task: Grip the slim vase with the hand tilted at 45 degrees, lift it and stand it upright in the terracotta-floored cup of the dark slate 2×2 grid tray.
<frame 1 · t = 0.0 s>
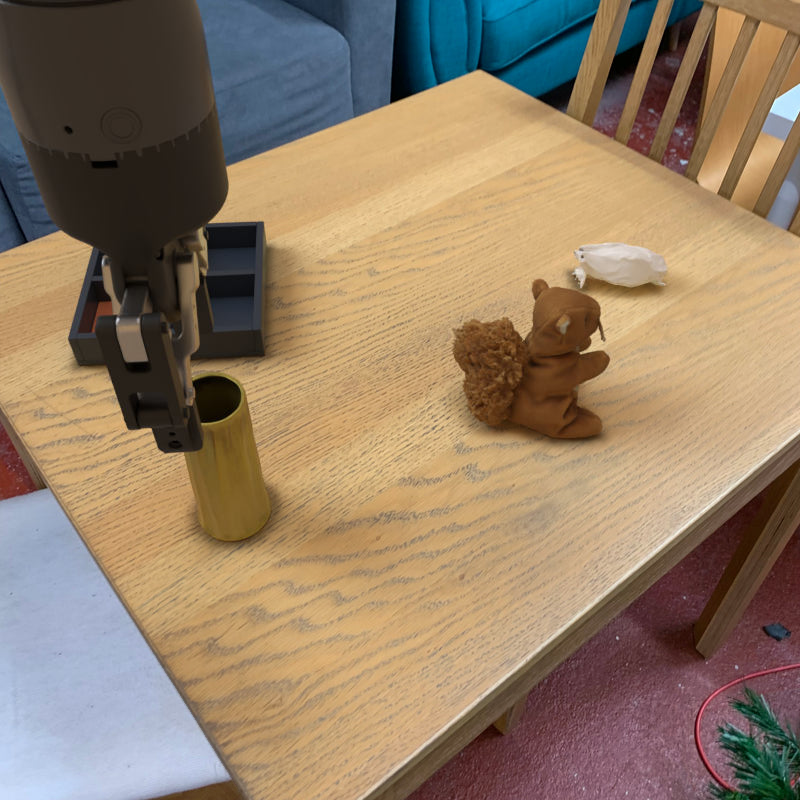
hand: (189, 385, 41), 24 cm above the table, tool pointing down, fingers open, 8 cm apart
stuffed squirrel: (521, 406, 74), on the table
grid: (180, 301, 83), on the table
bird figurine: (616, 282, 87), on the table
vase: (235, 512, 65), on the table
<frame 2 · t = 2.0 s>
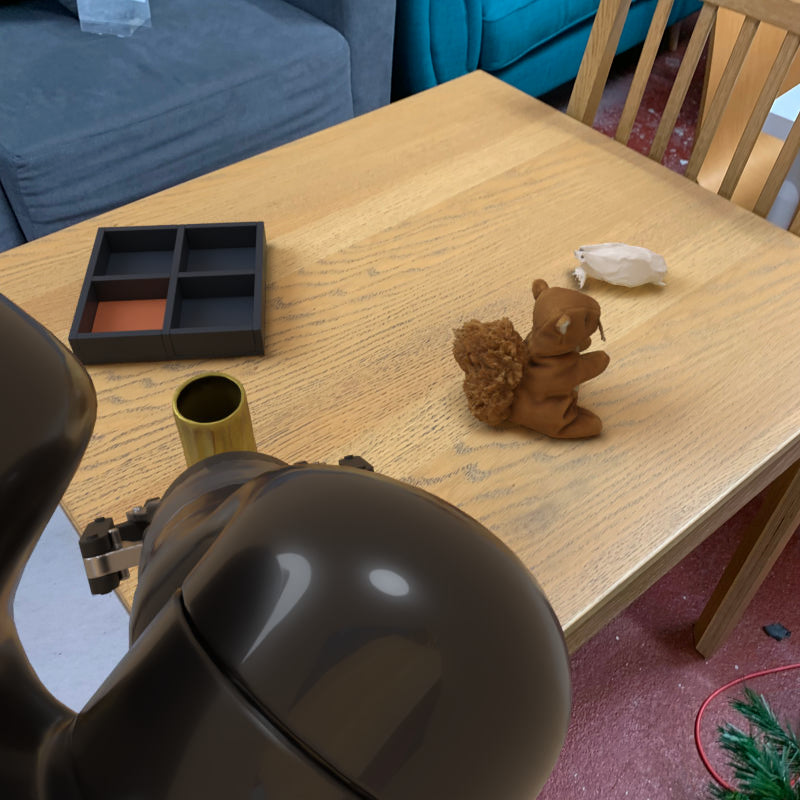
hand: (231, 496, 45), 17 cm above the table, tool tilted 45°, fingers open, 8 cm apart
nothing on the table moved.
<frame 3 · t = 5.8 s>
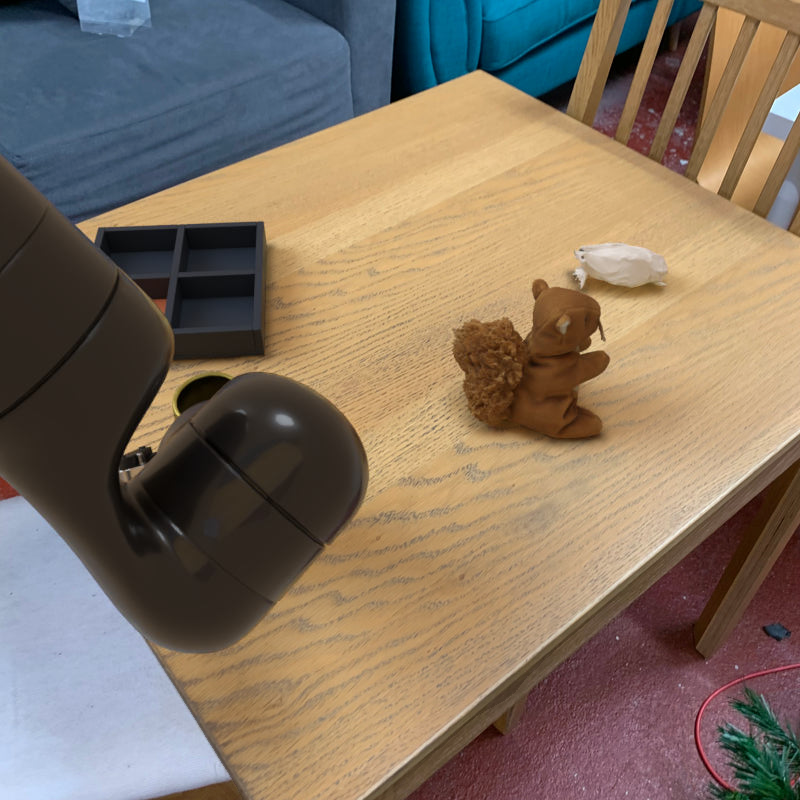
hand: (218, 442, 61), 7 cm above the table, tool tilted 45°, fingers closed on vase, 5 cm apart
vase: (235, 512, 65), on the table, touching gripper
everything else where it was.
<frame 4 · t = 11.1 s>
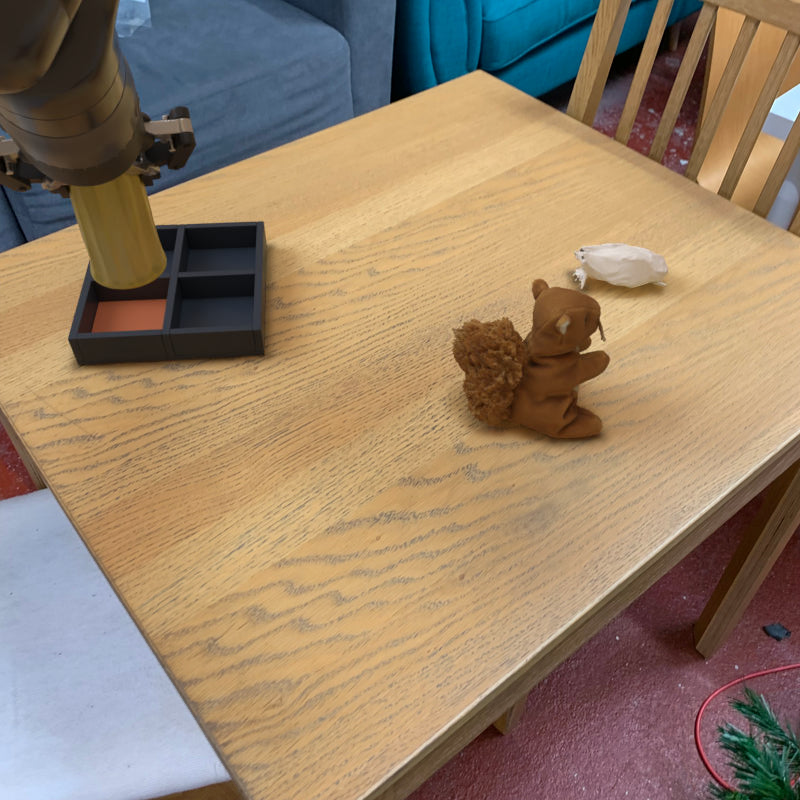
hand: (106, 179, 59), 22 cm above the table, tool tilted 45°, fingers closed on vase, 5 cm apart
vase: (130, 269, 63), point 14 cm above the table, touching gripper
everything else where it was.
when the fingers open (8 cm above the table, at t = 16.6 s): vase stays where it is, resting on grid.
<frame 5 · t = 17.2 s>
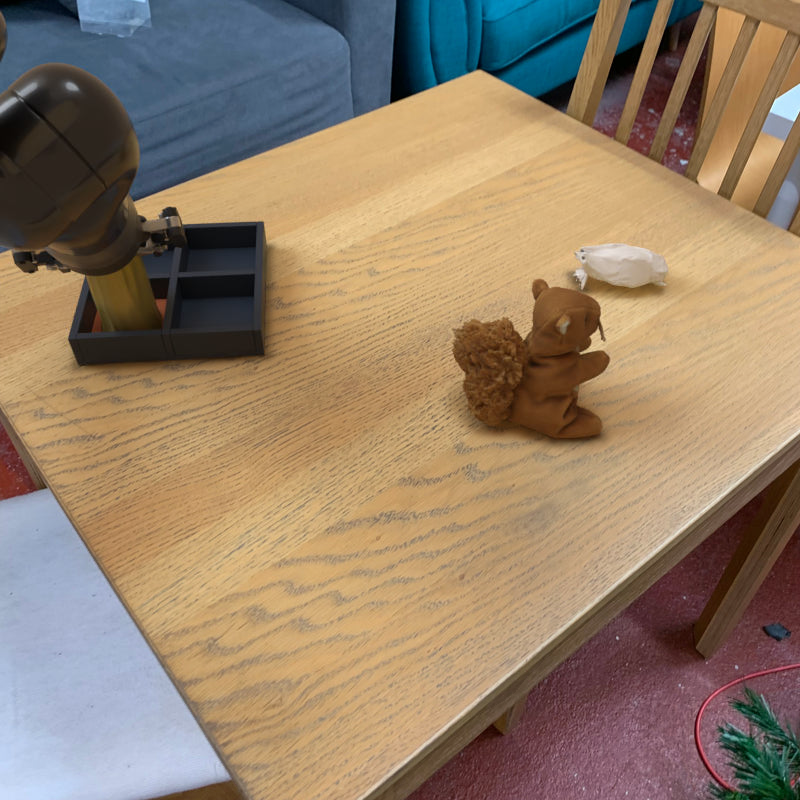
hand: (111, 254, 74), 9 cm above the table, tool tilted 45°, fingers open, 8 cm apart
vase: (133, 326, 79), point 1 cm above the table, touching grid
everything else where it was.
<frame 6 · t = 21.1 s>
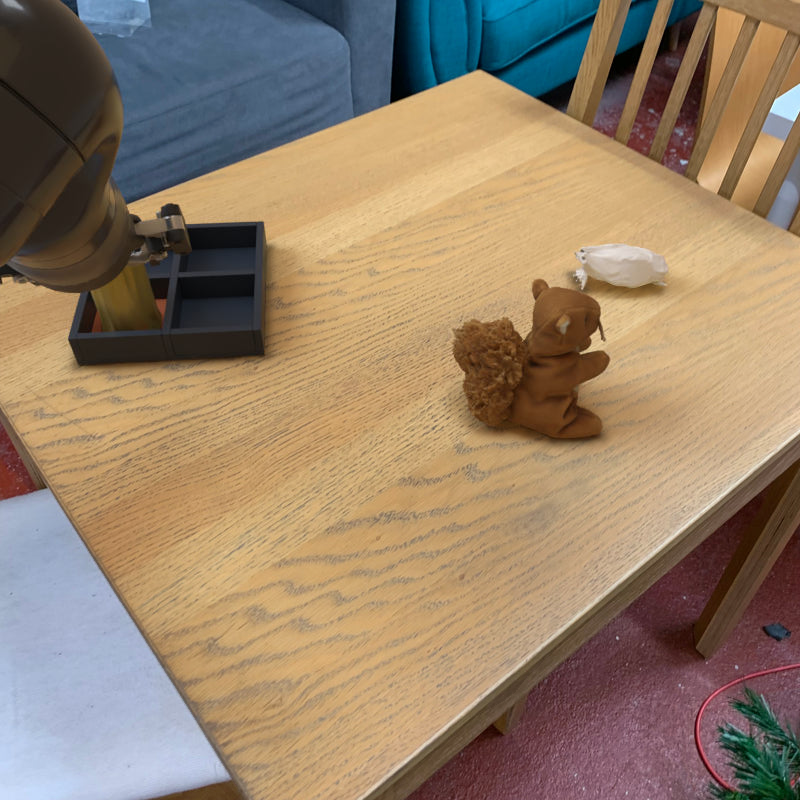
hand: (96, 262, 59), 17 cm above the table, tool tilted 45°, fingers open, 8 cm apart
nothing on the table moved.
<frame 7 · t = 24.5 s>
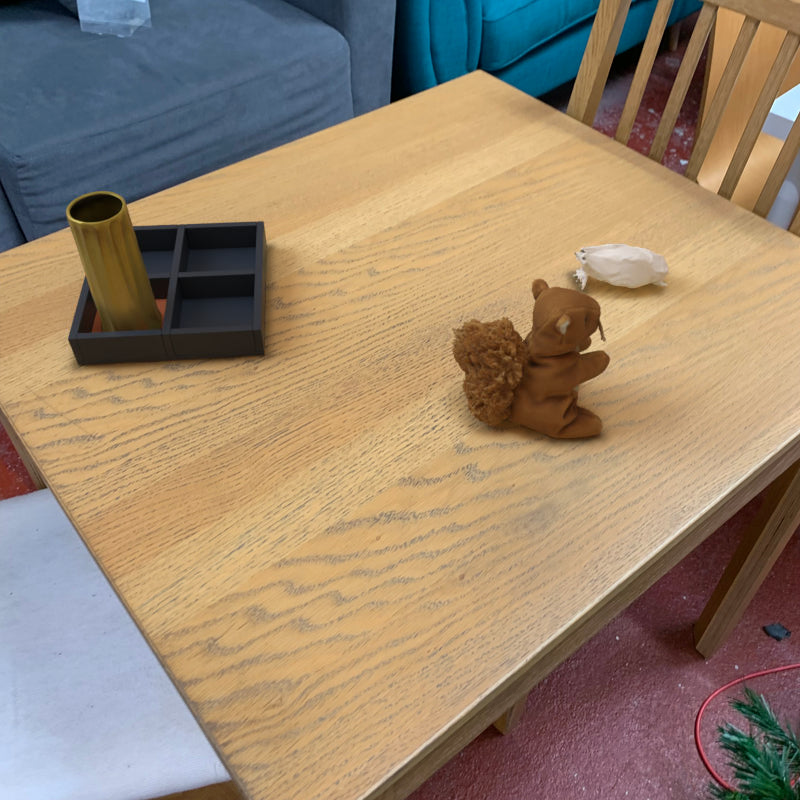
nothing on the table moved.
at the end: vase 0.1 cm from the target spot in the grid, point 0.6 cm above the grid's base; vase tilted 0°; the gripper is holding nothing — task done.
